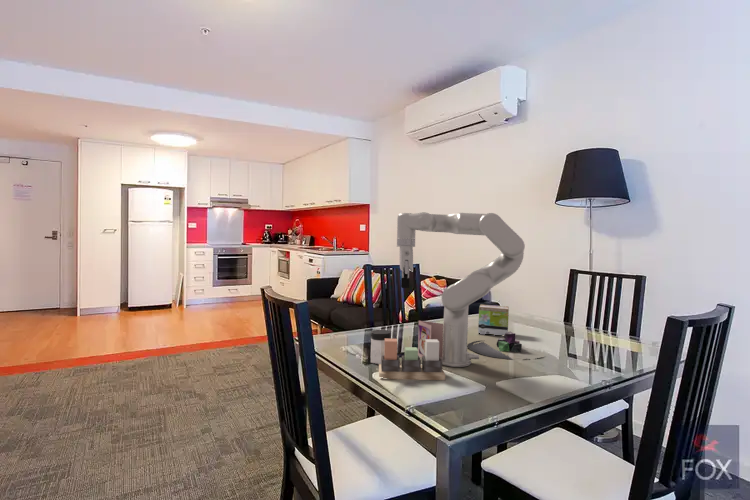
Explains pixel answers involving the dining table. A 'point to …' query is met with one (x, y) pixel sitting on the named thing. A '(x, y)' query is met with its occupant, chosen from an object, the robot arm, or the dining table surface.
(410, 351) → the pale green upright block
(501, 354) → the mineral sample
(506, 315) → the tea box
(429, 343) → the grey button
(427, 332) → the greeting card
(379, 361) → the jar
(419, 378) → the base
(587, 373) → the dining table surface
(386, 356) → the pink upright block
